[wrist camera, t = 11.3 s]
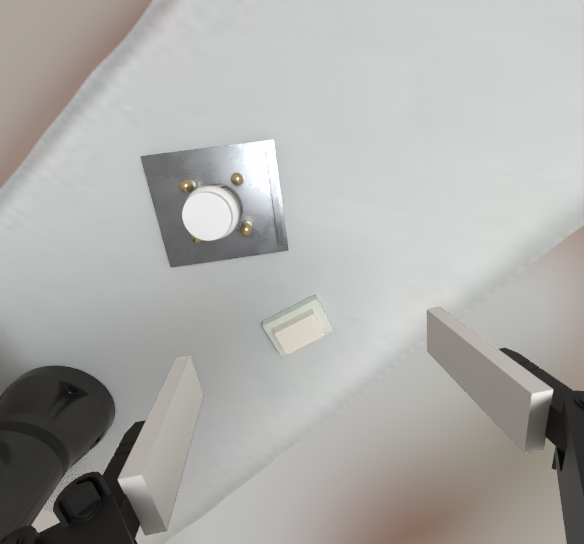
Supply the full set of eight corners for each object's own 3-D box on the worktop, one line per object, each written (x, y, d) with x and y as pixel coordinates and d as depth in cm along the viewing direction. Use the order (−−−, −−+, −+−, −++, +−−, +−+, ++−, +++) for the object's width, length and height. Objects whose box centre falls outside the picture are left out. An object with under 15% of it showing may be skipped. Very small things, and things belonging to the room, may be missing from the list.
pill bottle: (196, 225, 38) (173, 241, 28) (199, 180, 36) (176, 181, 27) (240, 232, 38) (233, 249, 29) (245, 188, 37) (239, 191, 27)
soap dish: (280, 350, 46) (282, 363, 43) (262, 321, 44) (262, 332, 41) (331, 325, 46) (337, 336, 42) (315, 294, 44) (319, 303, 40)
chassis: (173, 264, 40) (163, 274, 36) (144, 156, 36) (129, 154, 32) (287, 248, 41) (290, 255, 37) (273, 140, 37) (274, 136, 33)
